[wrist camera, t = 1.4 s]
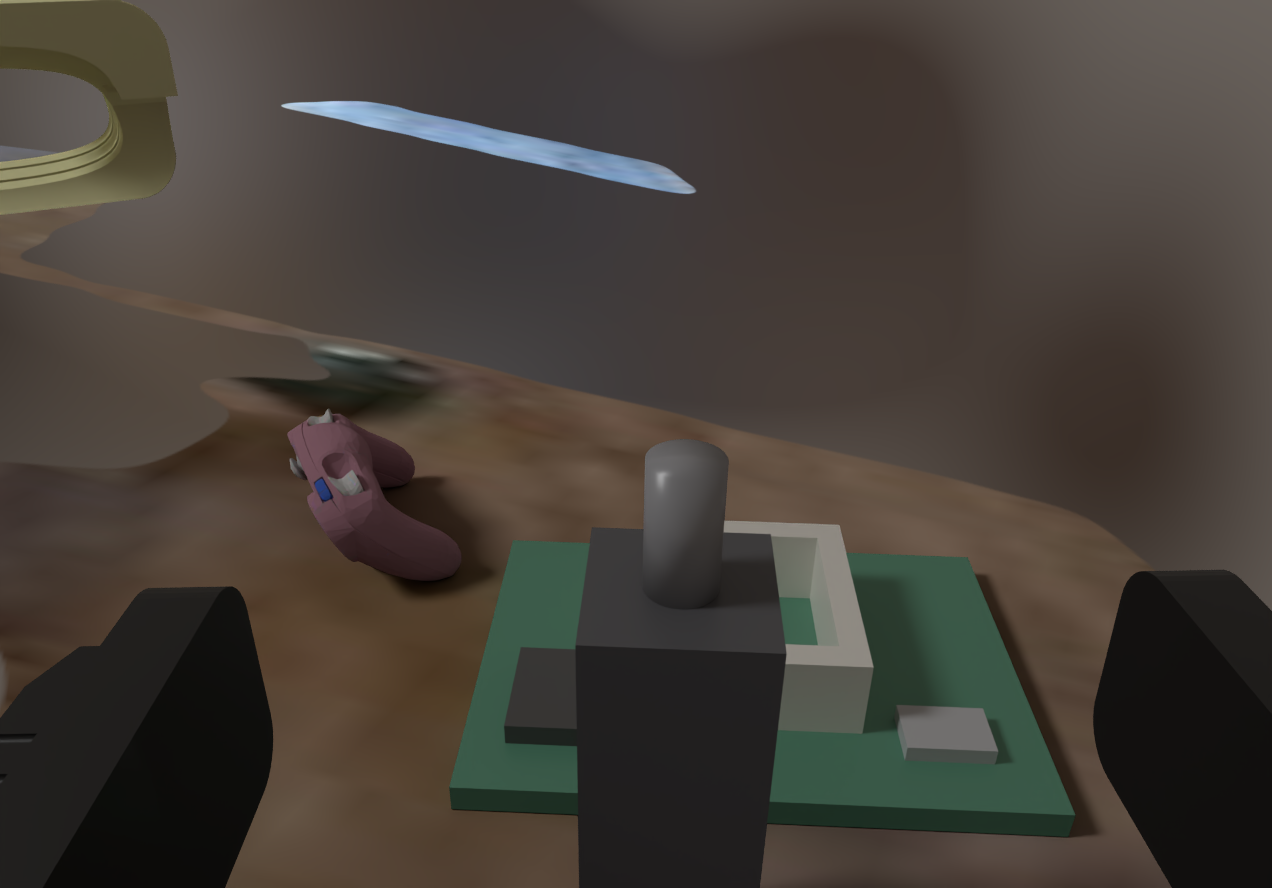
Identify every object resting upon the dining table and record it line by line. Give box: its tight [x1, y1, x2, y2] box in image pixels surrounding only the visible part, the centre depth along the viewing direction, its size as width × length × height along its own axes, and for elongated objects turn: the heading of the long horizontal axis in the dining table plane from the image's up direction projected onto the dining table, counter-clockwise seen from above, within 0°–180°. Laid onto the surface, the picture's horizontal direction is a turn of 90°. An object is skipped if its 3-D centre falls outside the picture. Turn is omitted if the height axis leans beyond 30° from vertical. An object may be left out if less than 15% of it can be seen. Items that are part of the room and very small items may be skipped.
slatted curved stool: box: [0, 0, 178, 215], centre depth 93 cm, size 30×16×18 cm, turn 30°
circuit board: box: [449, 521, 1075, 837], centre depth 38 cm, size 20×14×4 cm
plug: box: [575, 439, 787, 888], centre depth 24 cm, size 4×5×17 cm
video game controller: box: [288, 409, 462, 581], centre depth 45 cm, size 10×5×7 cm, turn 25°
